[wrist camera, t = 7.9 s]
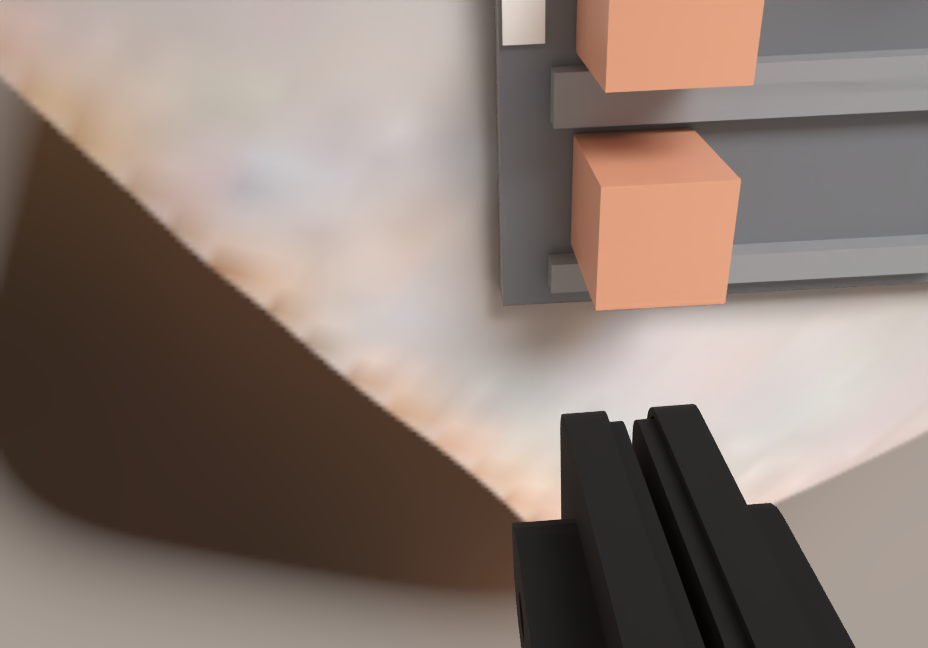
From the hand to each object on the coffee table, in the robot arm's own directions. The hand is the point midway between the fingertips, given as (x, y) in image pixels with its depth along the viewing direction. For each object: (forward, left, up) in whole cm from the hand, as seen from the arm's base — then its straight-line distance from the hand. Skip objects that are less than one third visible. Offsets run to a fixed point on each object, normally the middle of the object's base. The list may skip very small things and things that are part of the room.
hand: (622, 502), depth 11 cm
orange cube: (+2, +4, -17) cm, 17 cm away
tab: (-4, +4, -17) cm, 18 cm away
